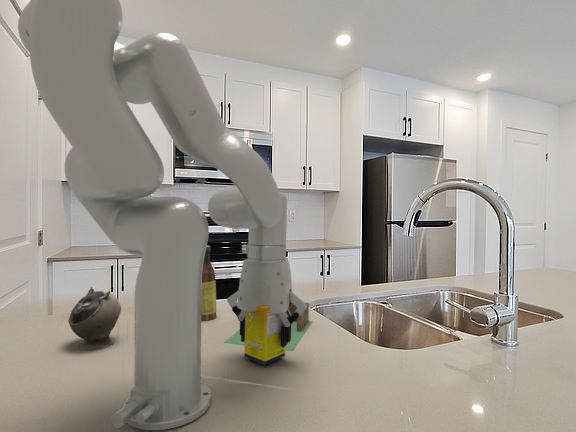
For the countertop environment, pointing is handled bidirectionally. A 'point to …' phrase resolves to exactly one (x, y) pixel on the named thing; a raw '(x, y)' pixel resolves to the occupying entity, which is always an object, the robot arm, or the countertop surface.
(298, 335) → the pitch
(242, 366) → the countertop surface
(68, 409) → the countertop surface
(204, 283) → the sauce bottle
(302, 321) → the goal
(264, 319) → the supplement box
